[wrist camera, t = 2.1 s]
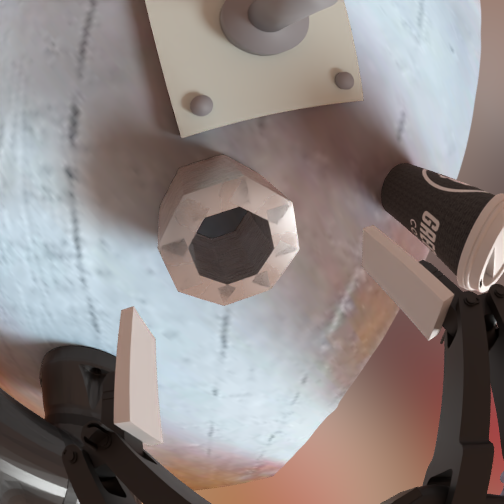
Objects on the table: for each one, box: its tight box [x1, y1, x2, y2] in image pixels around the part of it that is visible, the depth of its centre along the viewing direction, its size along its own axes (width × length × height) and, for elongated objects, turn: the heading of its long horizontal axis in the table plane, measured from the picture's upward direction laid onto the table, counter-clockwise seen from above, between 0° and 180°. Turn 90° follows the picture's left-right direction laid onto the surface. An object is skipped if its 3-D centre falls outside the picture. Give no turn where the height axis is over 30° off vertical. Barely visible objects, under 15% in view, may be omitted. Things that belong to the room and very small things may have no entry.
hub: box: [157, 154, 299, 306], centre depth 21 cm, size 9×9×7 cm
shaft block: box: [145, 0, 364, 138], centre depth 12 cm, size 16×16×12 cm
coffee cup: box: [382, 163, 504, 292], centre depth 23 cm, size 10×10×15 cm
